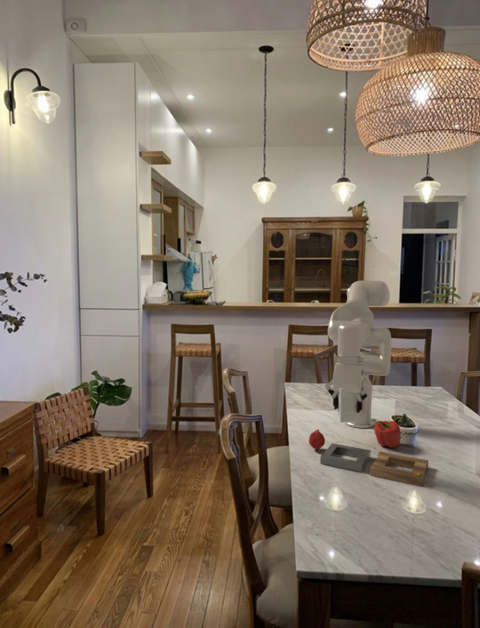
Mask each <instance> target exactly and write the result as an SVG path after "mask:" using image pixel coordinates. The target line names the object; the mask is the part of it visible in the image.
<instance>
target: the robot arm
mask: <svg viewBox="0 0 480 628" xmlns="http://www.w3.org/2000/svg"><path fill="white" fill-rule="evenodd" d="M390 294H391V293H390V289H389V287H388V284H387V283H386V282H385V281H382V280H357V281H354V282H353V283H351V285H350V286H349V287H348V288H347V290H346V296H347V297H346V298H347V299H346V302H345V303H343V304H342V305H340V306H338V307H337V308H336V309H334V311H333V312H332V313H331V315H330V319H329V322H328V326H327V335H328V336H327V337H328V338H329V339H330V340H332V341H334V342H337V359H336V360H337V361H336V362H335V364H334V369H333V376H332V379H331V380H330V381H329V382H327V383H326V384H325V385H324V387H325V389H326V390H327V392H328V393H329V395H331V398H332V406H333V409H334V410H338V392H339V391H340V388H345V389H347V392H348V393H351V394H355V395H356V397H357V399H358V401H357V411H356V412H357V422H344V423H345V424H346V426H350V427H353V428H358V429H368V428H369V429H370V428H374V427H375V425H376V424H375V422H376V421H374V420H373V419H372V401H373V400H372V399H373V398H372V397H373V384H372V381H371V380H370V378H369V377H368V376H367V375H369V376H370V375H371V376H381V377H382V376H384V377H385V376H387V375H389V374H390V370H391V357H392V336H391V335H392V334H391V331H390V330H389V329H388V328H386V327H380V326H374V320H375V319H374V317H375V316H374V313H373V312H372V310H371V309H370V308H369V307H386V306H387V305H388V304H389V301H390V297H391V296H390ZM361 349H364V350H367V349H368V350H378V351H379V352H374V351H373V352H370V351H361Z"/></svg>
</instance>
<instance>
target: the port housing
mask: <svg viewBox="0 0 480 628" xmlns="http://www.w3.org/2000/svg"><path fill="white" fill-rule="evenodd" d="M389 465H393V466H398V467H404V468H409V469H412V470H406V469H401V468H396V467H391V466H389ZM428 470H429V459H424V458H419V457H413V456H407V455H403V454H396V453H391V452H387V451H379V452H378V453H377V457H376V459H374V462H373V463H371V466H370V468H369V472H370V473H369V475H370V476H372V477H377V478H381V479H387V480H391V481H395V482H400V483H406V484H411V485H414V486H419V487H423V486H424V483H425V477H426V474H427V473H426V472H428Z"/></svg>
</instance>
